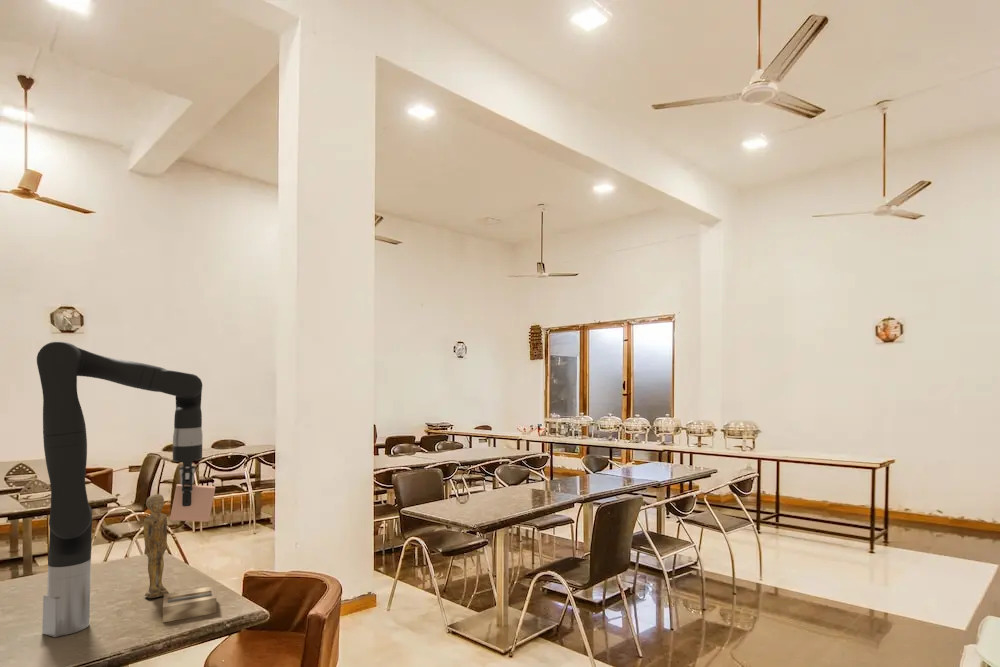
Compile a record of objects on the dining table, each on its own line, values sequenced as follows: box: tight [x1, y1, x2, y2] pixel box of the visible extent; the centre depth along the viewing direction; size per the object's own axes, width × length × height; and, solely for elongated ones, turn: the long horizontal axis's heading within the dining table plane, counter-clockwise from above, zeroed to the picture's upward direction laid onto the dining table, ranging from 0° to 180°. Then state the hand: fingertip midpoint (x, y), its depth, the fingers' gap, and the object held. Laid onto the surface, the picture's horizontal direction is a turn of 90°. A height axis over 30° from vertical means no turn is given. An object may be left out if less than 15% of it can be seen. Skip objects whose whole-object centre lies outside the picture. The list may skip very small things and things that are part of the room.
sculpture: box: [143, 493, 170, 599], centre depth 182 cm, size 7×6×30 cm
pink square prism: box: [169, 483, 216, 523], centre depth 173 cm, size 10×3×10 cm, turn 117°
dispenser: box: [162, 585, 217, 623], centre depth 170 cm, size 13×11×5 cm
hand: (186, 504), depth 172 cm, fingers closed on pink square prism, 2 cm apart
